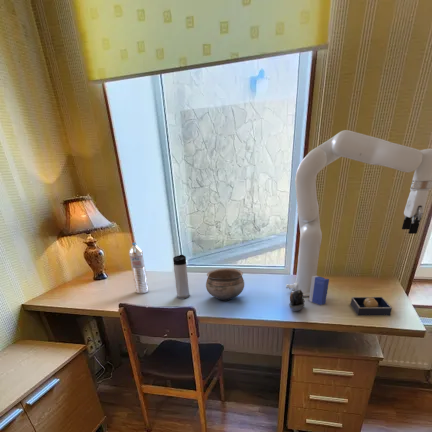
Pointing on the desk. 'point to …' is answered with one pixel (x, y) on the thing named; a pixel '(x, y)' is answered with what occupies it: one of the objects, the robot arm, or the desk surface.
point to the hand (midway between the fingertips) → (408, 231)
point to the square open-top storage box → (360, 310)
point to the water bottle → (138, 269)
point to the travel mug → (181, 276)
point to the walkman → (318, 290)
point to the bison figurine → (296, 300)
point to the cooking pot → (225, 283)
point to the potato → (370, 302)
